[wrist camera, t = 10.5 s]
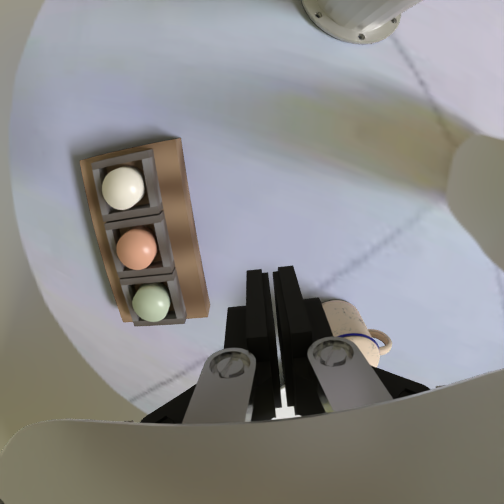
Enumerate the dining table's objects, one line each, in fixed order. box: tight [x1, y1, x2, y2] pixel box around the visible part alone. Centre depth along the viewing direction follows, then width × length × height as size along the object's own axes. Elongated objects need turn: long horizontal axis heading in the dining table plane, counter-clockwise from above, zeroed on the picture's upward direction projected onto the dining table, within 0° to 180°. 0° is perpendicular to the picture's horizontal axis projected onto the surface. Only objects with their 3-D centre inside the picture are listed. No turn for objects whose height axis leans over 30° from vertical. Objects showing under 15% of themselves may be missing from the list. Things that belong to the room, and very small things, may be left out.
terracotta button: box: [116, 226, 159, 270], centre depth 35 cm, size 4×4×2 cm
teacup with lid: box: [322, 300, 392, 368], centre depth 39 cm, size 12×9×12 cm
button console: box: [80, 138, 210, 326], centre depth 37 cm, size 22×12×5 cm, turn 6°
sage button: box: [132, 282, 172, 322], centre depth 37 cm, size 4×4×2 cm
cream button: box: [102, 166, 147, 210], centre depth 32 cm, size 4×4×2 cm
